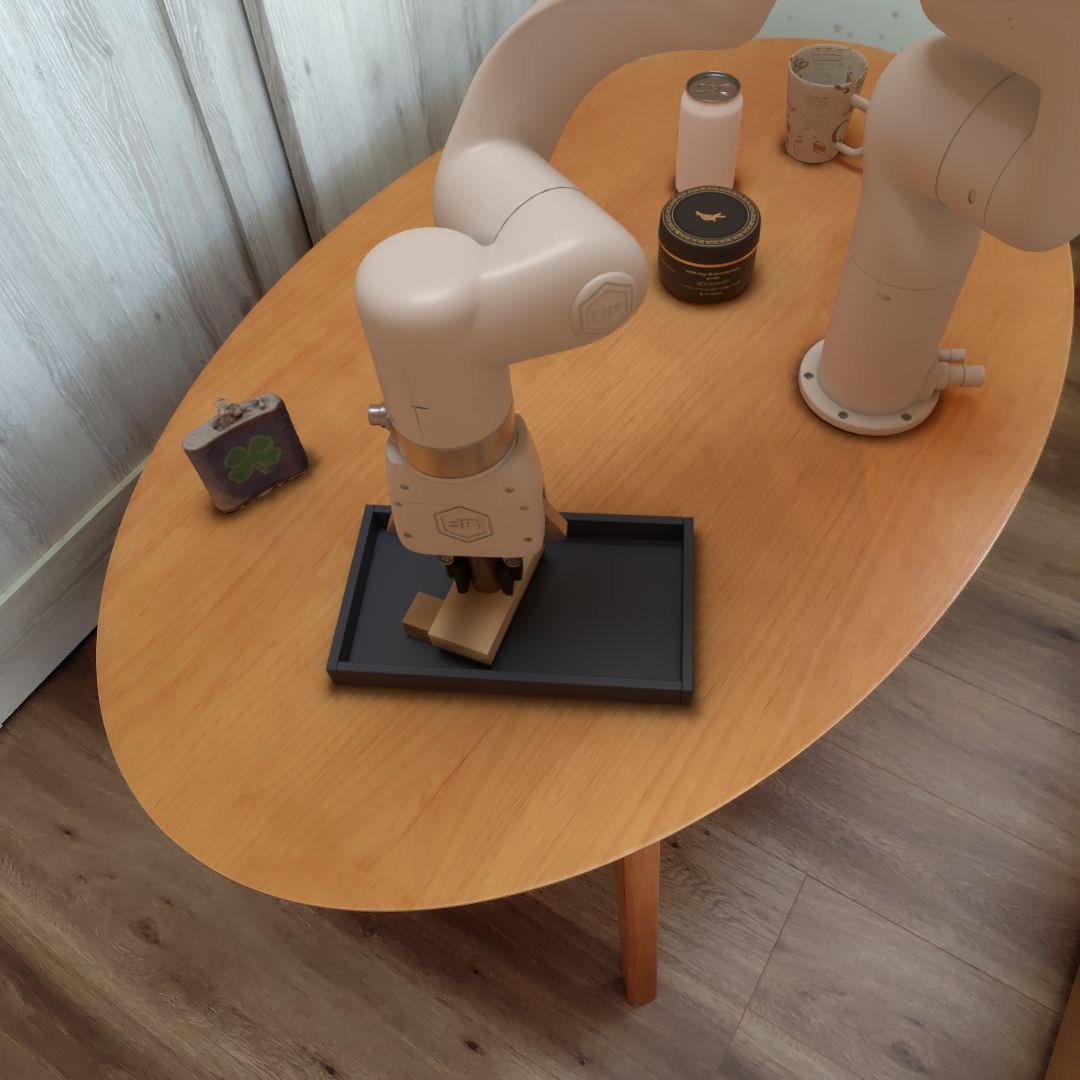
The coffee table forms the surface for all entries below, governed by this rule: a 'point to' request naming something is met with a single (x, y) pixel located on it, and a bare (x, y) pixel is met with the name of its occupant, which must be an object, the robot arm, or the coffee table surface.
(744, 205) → the jar
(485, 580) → the brush
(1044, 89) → the robot arm
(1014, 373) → the coffee table surface
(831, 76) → the mug
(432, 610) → the small wooden block
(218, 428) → the flask
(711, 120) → the can
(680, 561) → the tray
